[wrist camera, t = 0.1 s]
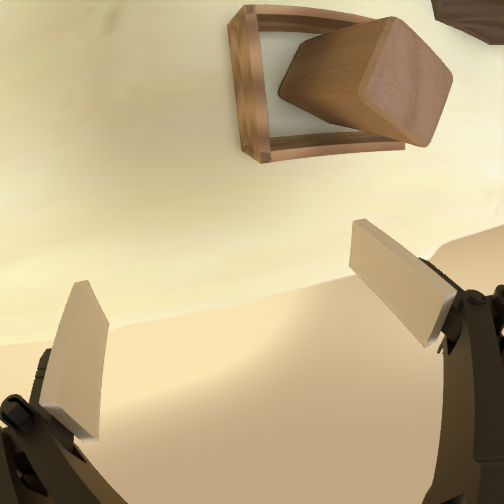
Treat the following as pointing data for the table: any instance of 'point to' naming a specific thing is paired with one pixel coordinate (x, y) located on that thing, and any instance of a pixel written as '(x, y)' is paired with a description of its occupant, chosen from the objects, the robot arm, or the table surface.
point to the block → (371, 80)
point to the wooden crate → (473, 17)
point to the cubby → (253, 89)
